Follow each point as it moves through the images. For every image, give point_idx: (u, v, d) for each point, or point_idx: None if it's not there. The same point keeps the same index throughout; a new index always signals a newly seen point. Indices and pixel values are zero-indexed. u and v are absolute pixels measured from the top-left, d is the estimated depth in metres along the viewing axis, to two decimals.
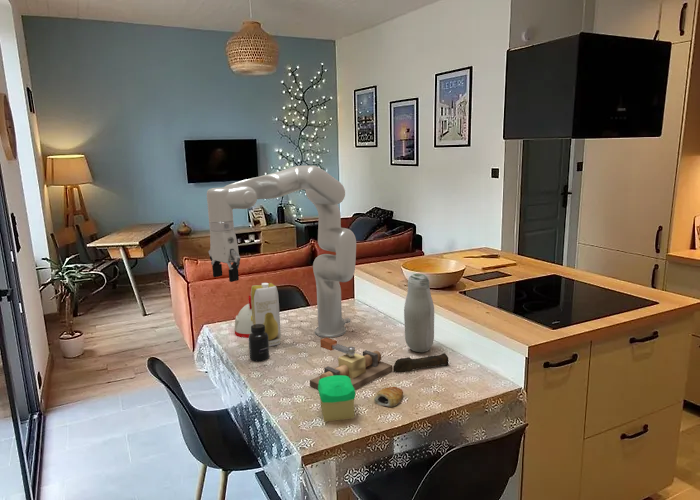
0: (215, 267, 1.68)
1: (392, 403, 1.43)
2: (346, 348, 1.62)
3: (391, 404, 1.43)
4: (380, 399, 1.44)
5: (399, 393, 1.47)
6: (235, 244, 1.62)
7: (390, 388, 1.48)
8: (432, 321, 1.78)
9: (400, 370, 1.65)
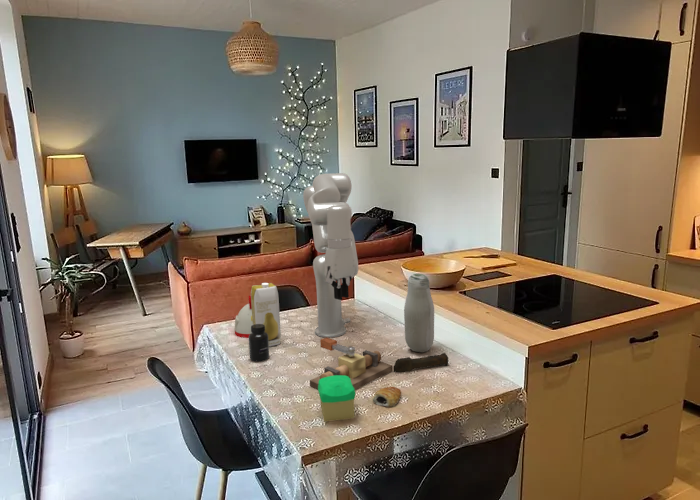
0: None
1: (391, 403, 1.43)
2: (346, 348, 1.62)
3: (390, 404, 1.43)
4: (378, 399, 1.45)
5: (397, 393, 1.47)
6: None
7: (388, 388, 1.48)
8: (432, 321, 1.78)
9: (400, 370, 1.65)
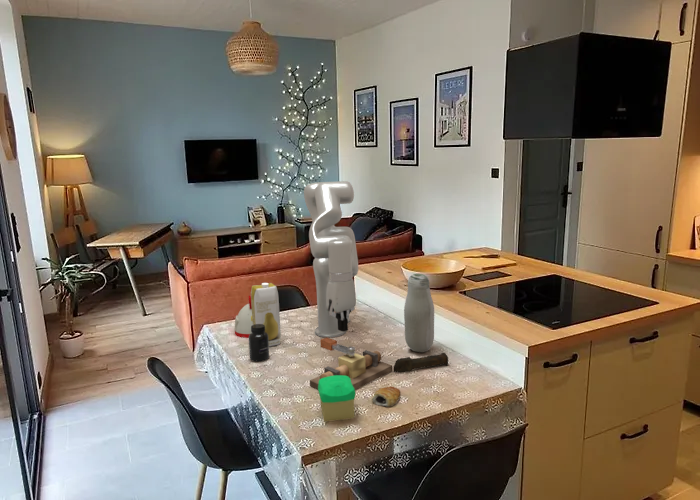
0: None
1: (390, 403, 1.43)
2: (346, 348, 1.62)
3: (389, 404, 1.43)
4: (378, 399, 1.45)
5: (396, 393, 1.47)
6: None
7: (387, 388, 1.48)
8: (432, 321, 1.78)
9: (400, 370, 1.65)
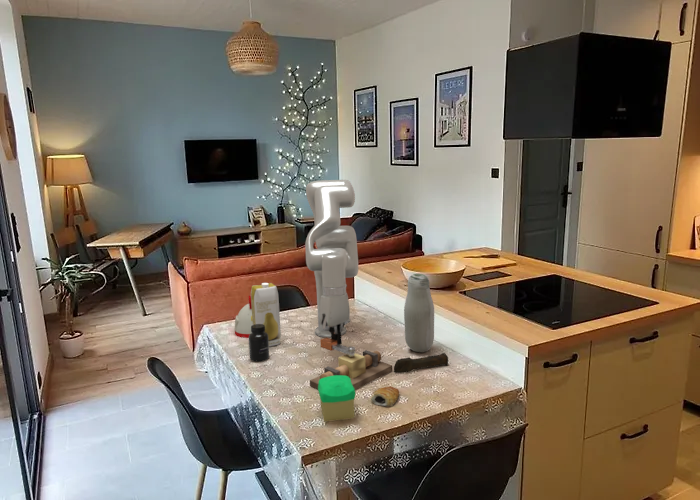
0: None
1: (389, 403, 1.43)
2: (346, 348, 1.62)
3: (388, 404, 1.43)
4: (377, 399, 1.45)
5: (395, 393, 1.47)
6: None
7: (386, 388, 1.48)
8: (432, 321, 1.78)
9: (400, 370, 1.64)
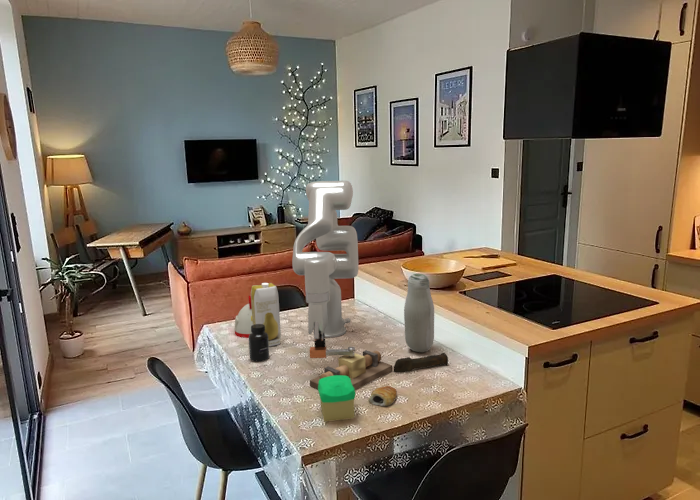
0: None
1: (387, 402, 1.43)
2: (344, 350, 1.60)
3: (386, 403, 1.43)
4: (375, 399, 1.45)
5: (393, 392, 1.47)
6: None
7: (384, 387, 1.48)
8: (432, 321, 1.78)
9: (400, 370, 1.65)
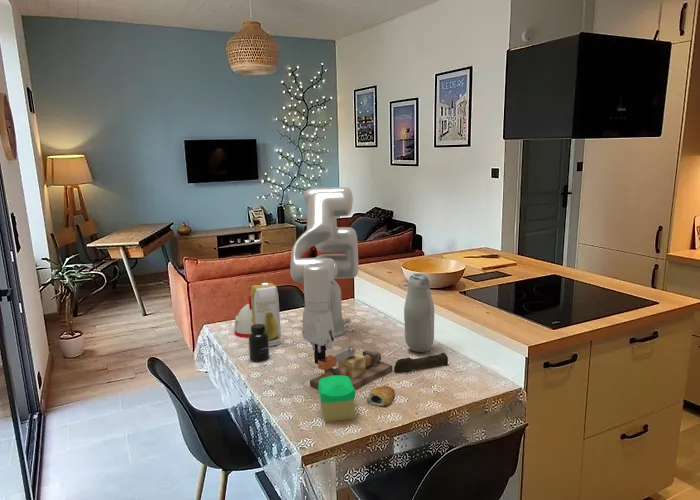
0: None
1: (385, 402, 1.43)
2: (346, 352, 1.58)
3: (384, 403, 1.43)
4: (373, 399, 1.45)
5: (391, 392, 1.47)
6: None
7: (382, 387, 1.48)
8: (432, 321, 1.78)
9: (400, 370, 1.64)
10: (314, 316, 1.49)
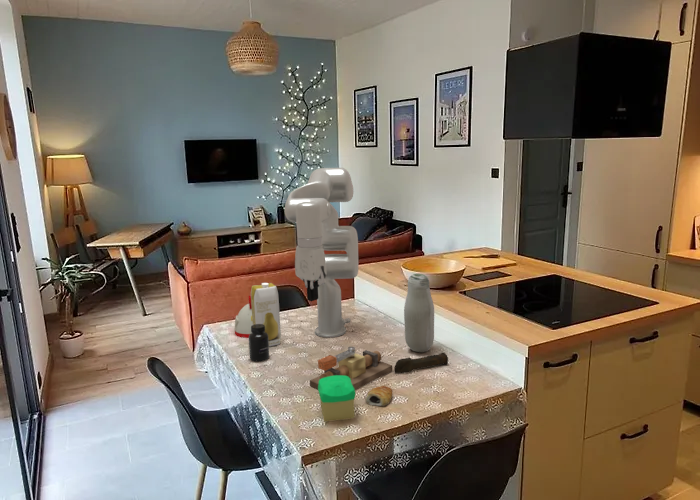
0: None
1: (384, 402, 1.43)
2: (346, 352, 1.58)
3: (383, 403, 1.43)
4: (371, 399, 1.45)
5: (389, 392, 1.47)
6: None
7: (380, 387, 1.48)
8: (432, 321, 1.78)
9: (401, 370, 1.64)
10: (306, 252, 1.53)
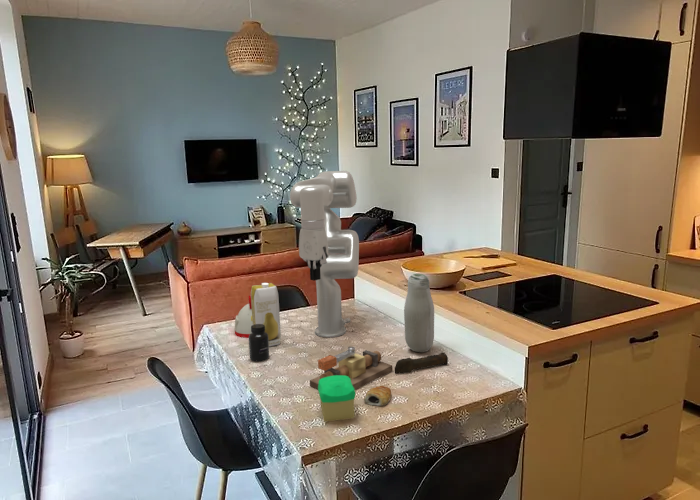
0: None
1: (383, 402, 1.43)
2: (346, 352, 1.58)
3: (382, 403, 1.43)
4: (370, 399, 1.45)
5: (388, 392, 1.48)
6: None
7: (379, 387, 1.48)
8: (432, 321, 1.78)
9: (401, 371, 1.64)
10: (310, 234, 1.64)
